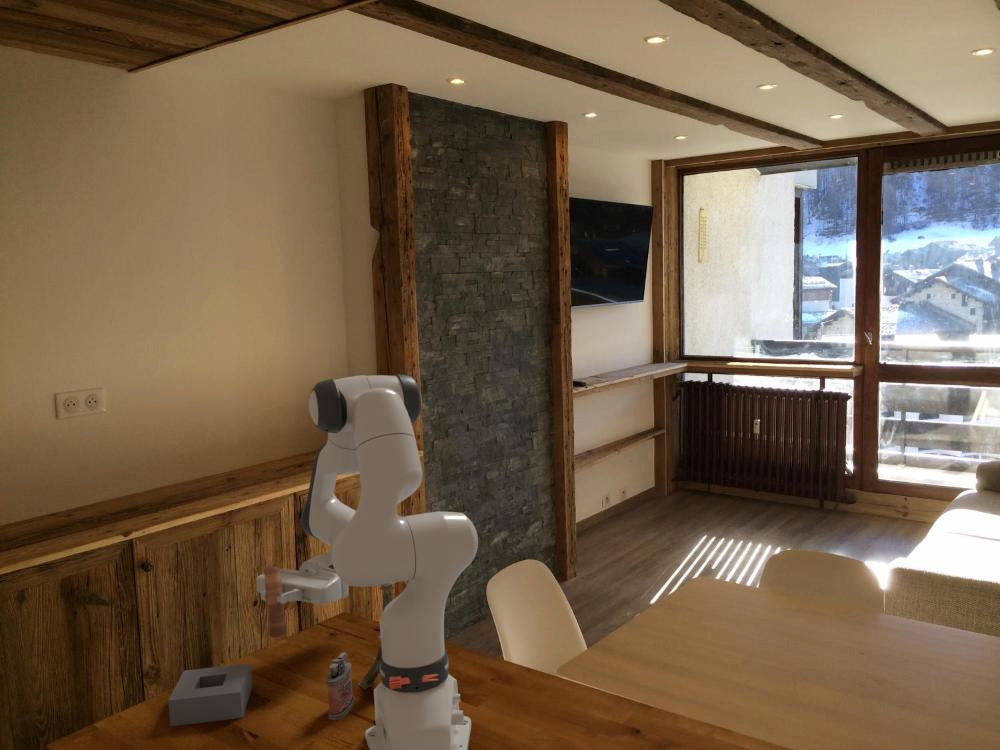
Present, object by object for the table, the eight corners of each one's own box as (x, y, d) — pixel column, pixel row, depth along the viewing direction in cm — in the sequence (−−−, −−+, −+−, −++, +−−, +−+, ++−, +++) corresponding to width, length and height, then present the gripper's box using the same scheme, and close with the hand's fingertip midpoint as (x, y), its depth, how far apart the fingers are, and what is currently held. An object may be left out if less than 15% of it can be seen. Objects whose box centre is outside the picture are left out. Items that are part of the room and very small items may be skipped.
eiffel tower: (402, 668, 177) (394, 552, 175) (430, 684, 169) (422, 563, 166) (357, 685, 170) (348, 564, 168) (384, 702, 162) (375, 576, 160)
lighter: (341, 720, 156) (338, 668, 155) (324, 719, 157) (320, 667, 156) (357, 699, 164) (354, 650, 163) (341, 699, 164) (337, 649, 164)
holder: (242, 717, 159) (240, 692, 159) (170, 726, 157) (168, 700, 157) (252, 686, 172) (250, 663, 171) (186, 694, 170) (183, 670, 170)
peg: (284, 636, 174) (279, 570, 173) (268, 638, 174) (263, 572, 173) (286, 630, 178) (280, 565, 176) (270, 632, 177) (265, 567, 176)
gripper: (283, 558, 191) (235, 577, 180) (351, 569, 180) (305, 590, 169) (285, 585, 192) (237, 605, 180) (353, 597, 181) (307, 620, 169)
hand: (271, 598), depth 174 cm, fingers closed on peg, 3 cm apart
